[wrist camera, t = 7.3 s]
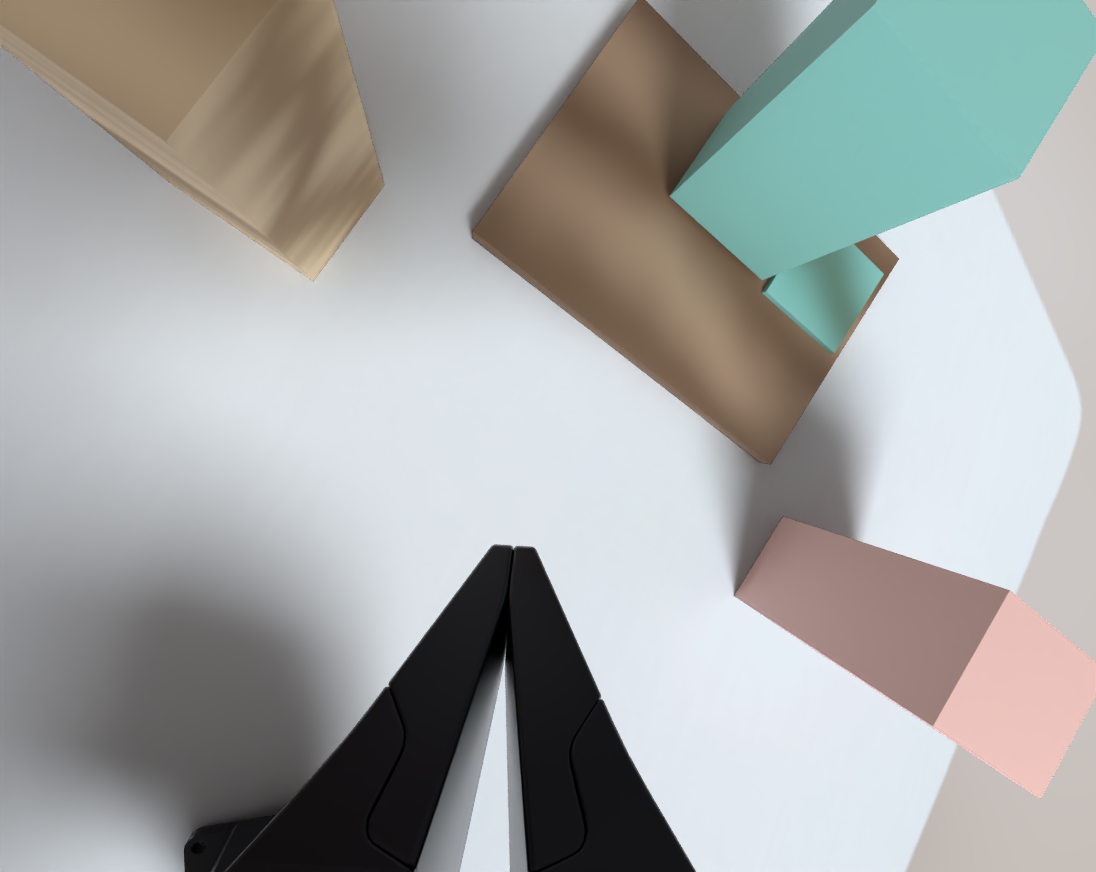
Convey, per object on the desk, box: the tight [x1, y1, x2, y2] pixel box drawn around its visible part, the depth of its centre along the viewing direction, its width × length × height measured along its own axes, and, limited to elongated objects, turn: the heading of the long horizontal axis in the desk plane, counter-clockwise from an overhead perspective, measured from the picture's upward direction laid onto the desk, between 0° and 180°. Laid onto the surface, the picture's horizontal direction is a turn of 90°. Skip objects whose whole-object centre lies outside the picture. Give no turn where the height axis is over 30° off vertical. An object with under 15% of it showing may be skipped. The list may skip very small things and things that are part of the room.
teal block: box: [670, 0, 1096, 280], centre depth 16 cm, size 5×6×10 cm
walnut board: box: [472, 0, 899, 464], centre depth 22 cm, size 13×18×1 cm
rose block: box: [734, 516, 1096, 799], centre depth 20 cm, size 5×6×10 cm
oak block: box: [0, 0, 384, 281], centre depth 13 cm, size 5×6×10 cm
